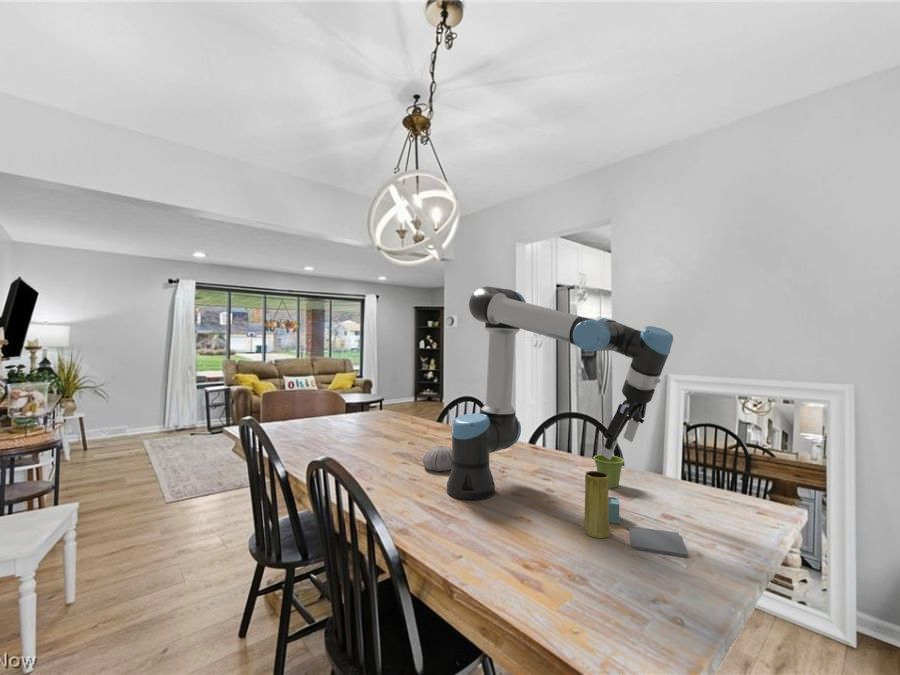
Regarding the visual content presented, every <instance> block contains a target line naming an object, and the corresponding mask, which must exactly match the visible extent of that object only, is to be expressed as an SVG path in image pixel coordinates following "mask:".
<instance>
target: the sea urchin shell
mask: <svg viewBox="0 0 900 675" xmlns="http://www.w3.org/2000/svg"><path fill="white" fill-rule="evenodd" d="M422 463H423V467H425V469H427V470H430V471H434V470H435V471H434V472H436V471H438V472H445V471H451V469H452V448H450V447H448V446H443V445H438V446H433V447H432V448H430V449H429V450H427V452H426V453H425V454H424V456H423V458H422Z"/></svg>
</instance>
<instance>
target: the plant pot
mask: <svg viewBox="0 0 900 675" xmlns="http://www.w3.org/2000/svg"><path fill="white" fill-rule="evenodd" d="M593 460H594V463H595V466H596V467H595V468H596V471H599V472H604V473H606V474H607V475H608V489H609V488H611V489H615V488H616V487H619V486H620V485H619V484H620V478H621V477H620V476H621V471H622V468H623V464H624V463H625V459H623V458H622V457H619V456H615V455H612V458H611V459H610V460H609V459H607V458H606V457H604V456H602V455H601V454H596V455H594V456H593Z"/></svg>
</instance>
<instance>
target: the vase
mask: <svg viewBox="0 0 900 675" xmlns="http://www.w3.org/2000/svg"><path fill="white" fill-rule="evenodd" d="M584 475H585V476H584V482H585V484H584V485H585V486H584V487H585V488H584V490H585V491H584V528H583V532H584V534H586V535H587V536H589V537H591V538H595V539H606V538H609V537H610V536H611V530H610V529H611V528H610V522H609V500H608V497H609V488H608V475H607V474H606V473H604V472H599V471H597V470H589V471H586V472H585V474H584Z"/></svg>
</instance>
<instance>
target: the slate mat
mask: <svg viewBox="0 0 900 675" xmlns="http://www.w3.org/2000/svg"><path fill="white" fill-rule="evenodd" d="M628 532H629V539H630V545H631V549H633V550H639V551H645V552H651V553H659V554H664V555H669V556H675V557H676V556H677V557H682V558H688V553H687V550H686V547H685V545H684V542H683V541H682V538H681V535H680V533H679V532H677V531H668V530H661V529H654V528H647V527H640V526H633V525H629V526H628Z"/></svg>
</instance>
